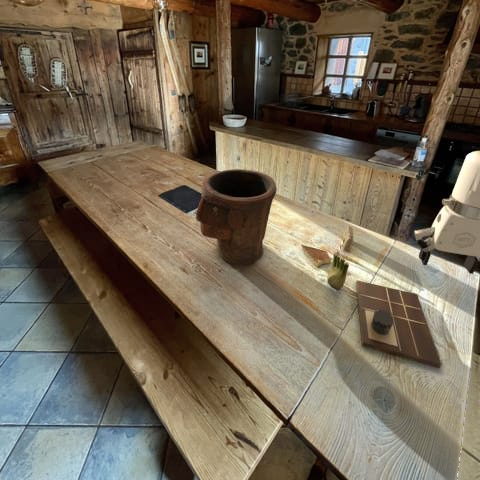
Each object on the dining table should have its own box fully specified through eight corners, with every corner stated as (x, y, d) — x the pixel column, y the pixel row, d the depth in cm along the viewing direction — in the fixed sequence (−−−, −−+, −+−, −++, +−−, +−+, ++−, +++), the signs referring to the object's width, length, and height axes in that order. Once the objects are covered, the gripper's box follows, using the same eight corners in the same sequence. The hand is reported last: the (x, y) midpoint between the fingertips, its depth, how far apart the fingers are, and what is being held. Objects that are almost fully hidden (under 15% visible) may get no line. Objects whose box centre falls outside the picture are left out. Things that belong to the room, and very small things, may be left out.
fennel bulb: (344, 291, 87) (351, 264, 81) (329, 292, 86) (336, 264, 81) (338, 278, 92) (344, 251, 87) (324, 278, 92) (329, 251, 86)
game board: (415, 297, 85) (417, 293, 84) (439, 368, 66) (441, 364, 65) (355, 283, 90) (356, 279, 89) (362, 345, 71) (363, 341, 70)
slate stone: (388, 321, 76) (391, 312, 74) (391, 337, 71) (395, 327, 70) (369, 316, 77) (373, 307, 75) (371, 332, 73) (375, 322, 71)
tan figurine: (337, 253, 103) (337, 235, 113) (348, 258, 102) (347, 238, 112) (344, 240, 99) (343, 222, 109) (356, 244, 98) (354, 226, 109)
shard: (300, 247, 106) (301, 243, 105) (316, 243, 108) (317, 240, 107) (316, 266, 96) (316, 262, 96) (333, 262, 99) (334, 258, 98)
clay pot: (188, 242, 107) (182, 175, 94) (251, 223, 119) (253, 162, 106) (211, 288, 87) (208, 211, 74) (284, 260, 99) (292, 189, 86)
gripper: (430, 209, 58) (409, 268, 65) (529, 222, 53) (495, 284, 61) (420, 193, 64) (402, 249, 72) (507, 203, 60) (479, 261, 67)
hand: (445, 265), depth 66 cm, fingers open, 9 cm apart
